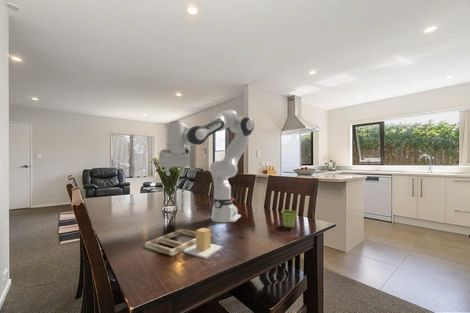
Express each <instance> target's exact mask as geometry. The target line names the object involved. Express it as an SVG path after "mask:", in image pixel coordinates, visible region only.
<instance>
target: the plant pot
mask: <svg viewBox="0 0 470 313" xmlns="http://www.w3.org/2000/svg"><path fill="white" fill-rule="evenodd" d="M280 212H281V215H282V221H283V226H284V227H286V228H288V227H289V228H290V229H291V227H292V228H295V224H296V217H297V214H298V212H297V211H296V210H290V209H284V210H281V211H280Z"/></svg>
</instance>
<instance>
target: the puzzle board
mask: <svg viewBox="0 0 470 313" xmlns="http://www.w3.org/2000/svg"><path fill="white" fill-rule="evenodd" d="M180 235H185V236H190V237H194V238H192V239H191V240H188V241H186V242H180V241H176V240H173V239H172V238H175V237H177V236H180ZM161 244H163V245H161ZM195 244H196V231H193V230H189V229H186V228H180V229H177V230H175V231H172V232H170V233H167V234H164V235H162V236H159V237H157V238H154V239H151V240H148V241H145V244H144V248H147V249H150V250H153V251H156V252H159V253H163V254H165V255H168V256H175V255H177V254H178V253H180V252H183V250H185V249H187V248H189V247H191V246H193V245H195ZM164 245H166V246H164ZM168 246H170V247H173V248H170V247H168Z"/></svg>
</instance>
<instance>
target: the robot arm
mask: <svg viewBox="0 0 470 313" xmlns="http://www.w3.org/2000/svg"><path fill="white" fill-rule="evenodd" d="M254 129H255V122H254V120H253V119H252V118H250V117H249V116H246V117H245V116H243V117H242V116H239V117H238V114H237V111H235V110H234V109H227V110H223V111H219V112H218V113H216V114H215V115H213V116H212V117H211V118H210V122H209V123H206V124H205V125H195V126H191V127H189V126H187V125H186V124H185V123H184V121H181V120H174V121H171V122H169V123H168V124H167V132H166V137H167V142H166V149H164V148H163V149H161V150H160V151H159V157H158V166H159V167H160V168H164V171H165V175H166V177H167V176H169V177H170V176H171V171H170V170H169V169H170V168H176V167H179V168H180V170H179V171H178V175H181V176H182V175H184V171H185V168H186V167H190V164H191V163H190V162H191V157H190V153H191V151H190V149H188V148H186V146H194V145H202V144H204V143H205V142H206V140H207V139H208V138H209V137H210V136H211V135H213V134H215V133H217V132H221V131H224V130H227V131H228V132H229V133H231V134H234V138H233V139H232V141H230V143H229V145H228V146H227V148H226V149H225V151H224V158H223V159H222V160H216V161H213V162H211V164H210V166H209V172H210V174H211V177H212V182H213V187H214V188H213V191H214V192H213V193H214V194H213V195H214V198H213V206H212V212H211V215H210V218H211V221H212V222H216V223H235V222H236V221H238V219H239V220H240V218H241V217H242V215H241V214H239V213H238V207H237V206H235V205H234V204H233V202H234V201H235V198H234V197H232V186H231V184H230V183H229V179H230V178H233V177H235V176H236V175H237V174H238V163H239V162H240V161H239V160H240V159H241V156H242V155H243V153H244V152H245V150H246V149H247V147H248V144H249V142H250V136H251V134H252V132H253V130H254ZM184 145H186V146H185V147H184Z"/></svg>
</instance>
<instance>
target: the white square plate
mask: <svg viewBox="0 0 470 313" xmlns="http://www.w3.org/2000/svg"><path fill="white" fill-rule="evenodd" d="M222 249H223V246H222V245H218V244H214V243H211V248H209V249H207V250H206V251H202V250H198V249H196V244H194V245H192V246H190V247H189V248H187V249H185V250H183V251H182V252H183V253H185V254H189V255H191V256H195V257H197V258H198V257H199V258H202V259H205V260H207V259H208V258H209V257H211V256H213V255H214V254H216V253H217V252H218V251H220V250H222Z"/></svg>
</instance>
